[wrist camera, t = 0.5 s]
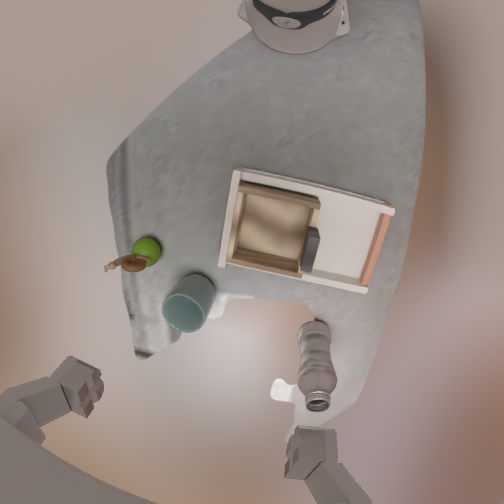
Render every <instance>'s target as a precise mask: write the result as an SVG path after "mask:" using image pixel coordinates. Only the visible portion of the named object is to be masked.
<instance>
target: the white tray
mask: <svg viewBox="0 0 504 504" xmlns="http://www.w3.org/2000/svg"><path fill="white" fill-rule="evenodd" d="M245 181H248V182H253V183H258V184H263V185H268V186H272V187H277V188H282V189H286V190H291V191H295V192H299V193H304V194H308V195H312V196H317V197H318V199H319V201H320V203H321V207H320V211H319V215H318V219H317V223H316V228H318V231H319V235H320V239H321V240H320V243H319V247H318V250H317V254H316V257H315V261H314V264H313V268H312V271H311V273H308V272H303V275H302V278H301V279H300V278H296V277H291V276H287V275H282V274H278V273H273V272H269V271H264V270H260V269H255V268H251V267H246V266H242V265H238V264H233V263H229V262H226V259H227V253H228V247H229V241H230V235H231V229H232V223H233V217H234V211H235V205H236V200H237V194H238V188H239V186H240V185H241V184H242V183H244V182H245ZM394 212H395V208H394V206H393V205H391V204H390V203H388V202H385V201H381V200H378V199H375V198H371V197H368V196H364V195H360V194H357V193H353V192H349V191H346V190H342V189H338V188H334V187H330V186H326V185H322V184H318V183H314V182H310V181H305V180H301V179H297V178H292V177H288V176H283V175H279V174H274V173H269V172H264V171H259V170H254V169H249V168H244V167H238V168H236V169H234V170H233V174H232V180H231V186H230V192H229V198H228V204H227V210H226V216H225V222H224V229H223V235H222V242H221V248H220V255H219V261H218V267H221V268H225V267H226V265H227V264H231V265H235V266H240V267H244V268H249V269H253V270H257V271H262V272H266V273H271V274H275V275H280V276H284V277H289V278H294V279H298V280H303V281H307V282H312V283H317V284H321V285H326V286H331V287H335V288H340V289H345V290H350V291H354V292H359V293H364V294H367V291H368V283H369V280H370V277H371V275H372V272H373V269H374V266H375V264H376V261H377V258H378V255H379V252H380V249H381V246H382V243H383V240H384V237H385V234H386V231H387V228H388V224H389V221H390V218H391V215H392V216H394Z"/></svg>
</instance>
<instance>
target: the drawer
mask: <svg viewBox="0 0 504 504" xmlns="http://www.w3.org/2000/svg"><path fill="white" fill-rule="evenodd" d="M320 207H321V203H320V201H319V199H318V197H317V196H312V195H308V194H304V193H299V192H295V191H291V190H286V189H282V188H277V187H272V186H268V185H263V184H258V183H253V182H248V181H245V182H244V183H242V184H241V185H240V186H239V188H238V194H237V200H236V205H235V211H234V217H233V223H232V229H231V235H230V241H229V247H228V253H227V259H226V262H229V263H233V264H238V265H242V266H246V267H251V268H255V269H260V270H264V271H269V272H273V273H278V274H282V275H287V276H291V277H296V278H300V279H301V278H302V275H303V272H308V273H311V271H312V268H313V264H314V261H315V257H316V254H317V250H318V247H319V243H320V240H321V239H320V235H319V231H318V228H316V223H317V219H318V215H319V211H320Z"/></svg>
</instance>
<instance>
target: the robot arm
mask: <svg viewBox="0 0 504 504" xmlns="http://www.w3.org/2000/svg"><path fill="white" fill-rule="evenodd" d="M238 15H239V17H240V18H241V19H243V20H244V21H245V22H247V23H248V24H249V25H250V26H251V28H252V29H253V31H254V33H255V35H256V36H257V37H258V38H259V40H261V41H262V42H263V43H264V44H265V45H267V46H268V47H270V48H272V49H274V50H277V51H280V52H284V53H289V54H304V53H309V52H313V51H316V50H318V49H320V48H322V47H323V46H325V45H326V44H327V43H329V42H330V41H331V40H333V39H334V38H338V37H342V36H345V35H347V34H348V33H349V31H350V24H349V14H348V6H347V0H242V3H241V5H240V7H239V9H238ZM342 22H343V23H344V24H341V23H342ZM100 376H101V372H100V369H97V368H95V367H93V366H91V365H89V364H87V363H85V362H83V361H81V360H79V359H77V358H74V357H73V356H69V357H67V358H66V359H65V360H64V361H63V362H62V363H61V365H60V366H59V367H58V368H57V369H56V370H55V371H54V373H53V374H52V375H51V376H50V377H49V378H48V377H44V378H41V379H37V380H34V381H31V382H28V383H24V384H22V385H18V386H14V387H11V388H8V389H6V390H5V391H4V392H3V393H2V394H1V395H0V504H157V503H155V502H152V501H149V500H146V499H143V498H141V497H139V496H136V495H133V494H131V493H129V492H126V491H124V490H121V489H119V488H117V487H115V486H112V485H110V484H108V483H106V482H104V481H102V480H100V479H98V478H96V477H94V476H92V475H90V474H88V473H86V472H84V471H82V470H80V469H79V468H77V467H75V466H73V465H71V464H69V463H68V462H66V461H64V460H63V459H61V458H60V457H58V456H56V455H55V454H53V453H52V452H50V451H48V450H47V449H45V448H44V447H42V446H41V444H42V443H43V441H44V440H45V434H44V433H43V431H42V430H41V428H40V427H41V426H43V425H45V424H47V423H49V422H51V421H53V420H55V419H57V418H59V417H61V416H63V415H65V414H67V413H69V412H71V411H73V412H75V413H77V414H79V415H81V416H83V417H85V418H88V416H89V415H90V413H91V412H92V410H93V409H94V405H93V403H95V402H97V401H99V400H100V398H101V396H102V394H103V391H104V384H103V381H102V380H101V379H100ZM336 438H337V437H336V431H335V429H324V428H318V427H309V426H300V425H298V426H297V427H296V428H295V433H294V435H291V437H290V439H289V442H288V445H287V451H286V456H287V457H288V459H289V460H288V461H287V463H286V464H285V475H284V477H285V478H292V479H299V480H305V483H306V485H307V487H308V488H309V490H310V492H311V494H312V495H313V497H314V499H315V501H316V502H317V504H372V500H371V499H370V498H369V497H368V495H367V494H366V493H365V492H364V490H363V489H362V488H361V487H360V486H359V484H358V483H357V482H356V481H355V480H354V478H353V477H352V476H351V474H349V472H348V471H347V470H346V468H345V467H344V466H343V464H342V463H338V452H337V439H336Z"/></svg>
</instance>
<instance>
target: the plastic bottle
mask: <svg viewBox="0 0 504 504" xmlns="http://www.w3.org/2000/svg"><path fill="white" fill-rule="evenodd" d="M297 340H298V344H299V347H300V354H301V362H300V370H299V374H298V381H297V383H298V387H299V389H300V391H301V392H302V393H303V394H304V395H305V402H306V408H307V410H308V411H310V412H314V413H319V412H324V411H326V410H327V409H328V408H329V407H330V394H331V393H332V392H333V390H334V389H335V387H336V384H337V376H336V373H335V370H334V367H333V364H332V360H331V355H330V344H331V333H330V331H329V328H328V327H327V326H326V325H325V324H324V323H322V322H319V321H309V322H307V323H305V324H303V325H302V326H301V327H300V329H299V332H298V335H297Z"/></svg>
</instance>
